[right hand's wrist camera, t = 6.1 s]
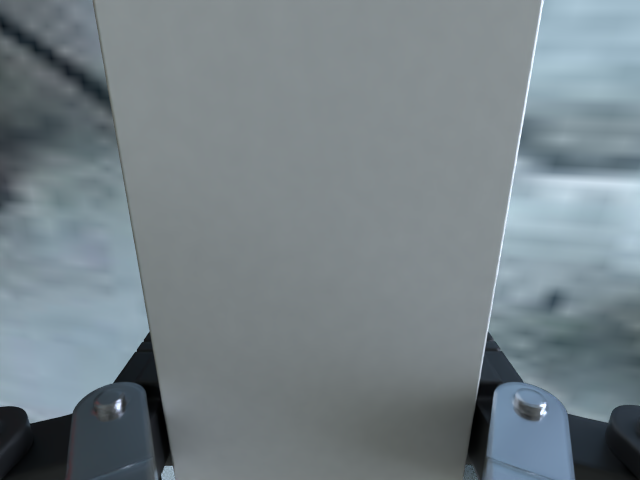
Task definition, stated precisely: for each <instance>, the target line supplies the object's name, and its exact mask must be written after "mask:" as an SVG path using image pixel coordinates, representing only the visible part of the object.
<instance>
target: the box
mask: <svg viewBox="0 0 640 480" xmlns="http://www.w3.org/2000/svg"><path fill="white" fill-rule="evenodd" d="M93 6H94V11H95V17H96V23H97V29H98V35H99V40H100V46H101V52H102V58H103V64H104V69H105V75H106V81H107V87H108V92H109V98H110V104H111V110H112V116H113V121H114V127H115V133H116V139H117V144H118V150H119V156H120V162H121V168H122V173H123V179H124V185H125V191H126V196H127V202H128V208H129V214H130V220H131V225H132V231H133V237H134V243H135V249H136V254H137V260H138V266H139V272H140V277H141V283H142V289H143V295H144V301H145V306H146V312H147V318H148V324H149V329H150V335H151V341H152V347H153V353H154V358H155V364H156V370H157V376H158V382H159V387H160V393H161V399H162V405H163V410H164V416H165V422H166V428H167V434H168V439H169V445H170V451H171V457H172V462H173V468H174V474H175V480H463V476H464V470H465V464H466V458H467V453H468V447H469V441H470V435H471V429H472V423H473V417H474V411H475V405H476V399H477V393H478V387H479V381H480V375H481V369H482V363H483V357H484V351H485V345H486V339H487V334H488V328H489V322H490V316H491V310H492V304H493V298H494V292H495V286H496V280H497V274H498V268H499V262H500V256H501V250H502V244H503V238H504V232H505V226H506V221H507V215H508V209H509V203H510V197H511V191H512V185H513V179H514V173H515V167H516V161H517V155H518V149H519V143H520V137H521V131H522V125H523V119H524V113H525V108H526V102H527V96H528V90H529V84H530V78H531V72H532V66H533V60H534V54H535V48H536V42H537V36H538V30H539V24H540V18H541V12H542V6H543V0H93Z"/></svg>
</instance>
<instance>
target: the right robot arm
mask: <svg viewBox="0 0 640 480" xmlns="http://www.w3.org/2000/svg"><path fill="white" fill-rule="evenodd" d="M465 465H473V468H474V470H475V473H476V475H477V478H478V480H640V406H636V405H623V406H619V407H617V408H615V409H614V410H613V411H612V413H611V416H610V420H609V423H605V422H601V421H596V420H592V419H588V418H583V417H579V416H574V415H571V414H567V411H566V409H565V407H564V405H563V404H562V403H561V402H560V401H559V400H558V399H557V398H556V397H555V396H553V395H552V394H551V393H549V392H547V391H546V390H544V389H542V388H539V387H537V386H534V385H531V384H527V383H524V382H523V381H522V379H521V378H520V376H519V375H518V373H517V372H516V371H515V369H514V368H513V366H512V365H511V363H510V362H509V361H508V359H507V358H506V356H505V355H504V353H503V352H502V351H500V348H499V346H498V345H497V343H496V342H495V341H493V338H492V336H491V335H490V333H489V332H488V334H487V339H486V345H485V351H484V357H483V363H482V369H481V375H480V381H479V387H478V393H477V399H476V405H475V411H474V417H473V423H472V429H471V435H470V441H469V447H468V453H467V458H466V464H465ZM164 466H173V462H172V457H171V451H170V445H169V439H168V434H167V428H166V422H165V416H164V410H163V405H162V399H161V393H160V387H159V382H158V376H157V370H156V364H155V358H154V353H153V347H152V341H151V335H150V332H149V333H148V335H147V336H146V337H145V339H144V342H142V343H141V345H140V346H139V347H138V349H137V352H135V353H134V354H133V356H132V357H131V359H130V360H129V361H128V363H127V364H126V366H125V367H124V369H123V370H122V371H121V373H120V374H119V376H118V377H117V378H116V380H115V381H114V383H113V384H109V385H106V386H103V387H101V388H98V389H96V390H94V391H93V392H91V393H89V394H88V395H87V396H85V397H84V398H83V399H82V400H81V401H80V402H79V403H78V404H77V405H76V407H75V409H74V411H73V413H72V414H69V415H66V416H62V417H58V418H53V419H49V420H45V421H40V422H36V423H31V424H30V423H29V419H28V416H27V414H26V412H25V411H24V410H23V409H21V408H19V407H14V406H6V407H0V480H162V478H161V473H162V471H163V468H164Z"/></svg>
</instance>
